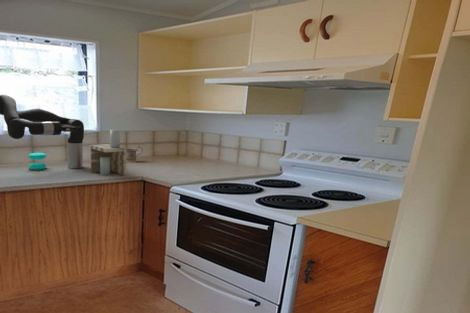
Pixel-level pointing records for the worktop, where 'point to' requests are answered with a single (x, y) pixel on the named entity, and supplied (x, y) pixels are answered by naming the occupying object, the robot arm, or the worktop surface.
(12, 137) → the robot arm
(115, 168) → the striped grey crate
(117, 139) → the pale grey cylinder
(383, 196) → the worktop surface
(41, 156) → the teal spool
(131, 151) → the mug
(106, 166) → the grey-green short column
